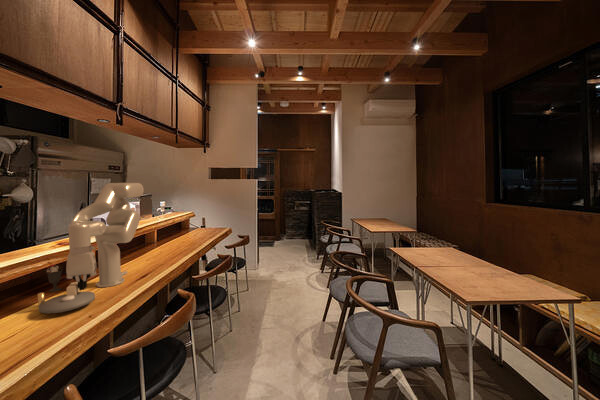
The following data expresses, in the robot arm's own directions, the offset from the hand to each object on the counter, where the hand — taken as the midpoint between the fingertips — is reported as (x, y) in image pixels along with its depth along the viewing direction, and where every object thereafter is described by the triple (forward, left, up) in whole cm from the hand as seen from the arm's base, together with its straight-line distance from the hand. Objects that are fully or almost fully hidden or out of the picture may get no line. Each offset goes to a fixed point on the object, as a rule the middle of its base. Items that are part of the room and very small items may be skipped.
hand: (82, 289), depth 119 cm
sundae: (-8, -25, -5) cm, 27 cm away
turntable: (+7, +1, -3) cm, 8 cm away
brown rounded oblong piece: (+8, -2, -5) cm, 9 cm away
